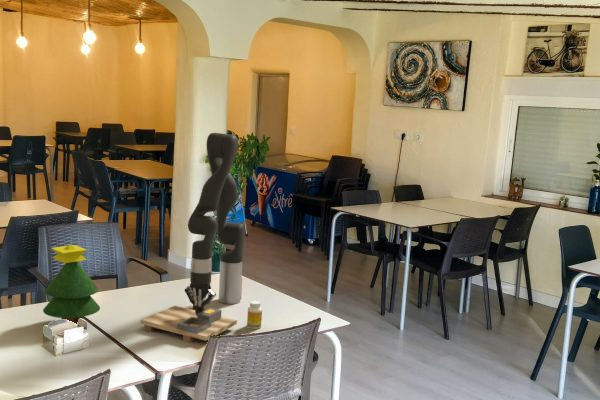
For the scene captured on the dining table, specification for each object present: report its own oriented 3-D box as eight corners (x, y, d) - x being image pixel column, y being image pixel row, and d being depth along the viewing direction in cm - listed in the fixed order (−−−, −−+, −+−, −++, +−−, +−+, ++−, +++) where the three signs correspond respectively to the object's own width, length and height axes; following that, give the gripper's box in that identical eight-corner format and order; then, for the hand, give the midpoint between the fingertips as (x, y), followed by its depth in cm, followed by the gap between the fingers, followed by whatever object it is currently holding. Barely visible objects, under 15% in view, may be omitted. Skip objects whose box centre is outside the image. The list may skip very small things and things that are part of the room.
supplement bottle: (245, 324, 241) (247, 300, 240) (259, 324, 243) (261, 299, 241) (248, 329, 236) (249, 304, 235) (262, 329, 238) (263, 304, 236)
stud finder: (209, 315, 238) (210, 307, 237) (221, 318, 236) (221, 309, 235) (197, 321, 231) (197, 312, 230) (208, 324, 229) (209, 315, 228)
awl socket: (191, 321, 230) (191, 316, 230) (211, 326, 227) (211, 321, 227) (177, 328, 223) (177, 323, 223) (197, 333, 219) (197, 328, 219)
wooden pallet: (174, 314, 248) (174, 305, 247) (236, 329, 236) (236, 320, 235) (140, 329, 230) (140, 319, 229) (205, 346, 218) (206, 336, 217)
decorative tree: (110, 327, 230) (111, 245, 225) (59, 339, 216) (59, 252, 211) (83, 313, 243) (84, 235, 238) (33, 323, 229) (33, 241, 224)
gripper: (222, 270, 233) (220, 316, 236) (192, 264, 239) (190, 309, 241) (210, 274, 226) (208, 321, 229) (180, 268, 232) (178, 314, 235)
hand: (199, 315), depth 235 cm, fingers closed
